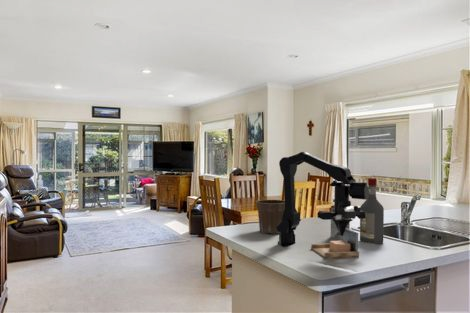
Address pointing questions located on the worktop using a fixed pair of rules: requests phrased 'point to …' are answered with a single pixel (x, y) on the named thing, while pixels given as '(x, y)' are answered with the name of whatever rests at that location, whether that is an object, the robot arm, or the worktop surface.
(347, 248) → the block
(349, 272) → the worktop surface
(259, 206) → the plant pot
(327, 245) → the square wooden tray
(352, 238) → the tailgate
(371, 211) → the liquor
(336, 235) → the coffee box
